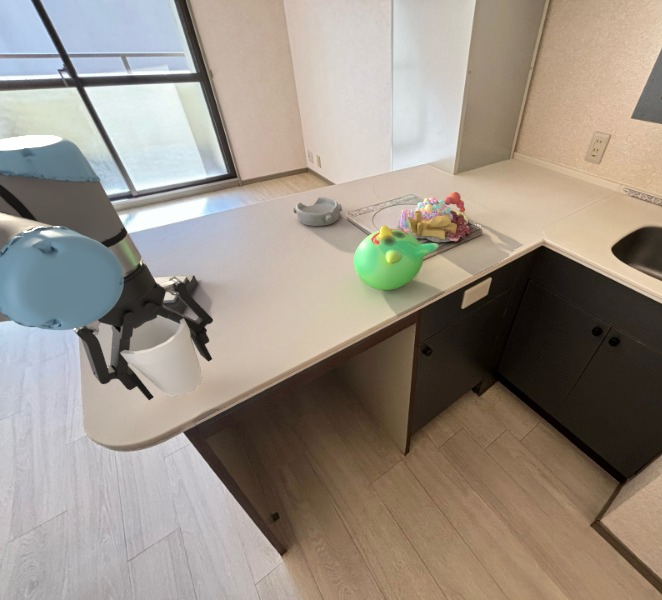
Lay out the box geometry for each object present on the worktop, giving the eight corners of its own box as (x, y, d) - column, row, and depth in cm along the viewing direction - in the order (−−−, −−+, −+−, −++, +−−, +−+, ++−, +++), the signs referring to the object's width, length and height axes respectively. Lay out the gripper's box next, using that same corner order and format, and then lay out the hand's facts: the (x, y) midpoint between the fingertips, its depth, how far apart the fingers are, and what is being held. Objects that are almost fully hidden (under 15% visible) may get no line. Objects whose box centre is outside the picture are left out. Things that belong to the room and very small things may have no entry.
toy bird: (393, 256, 95) (394, 209, 85) (436, 282, 86) (443, 233, 76) (343, 281, 85) (338, 231, 76) (386, 313, 76) (387, 262, 67)
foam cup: (223, 376, 59) (197, 325, 51) (172, 414, 53) (133, 364, 45) (192, 353, 63) (163, 303, 55) (141, 387, 57) (100, 336, 48)
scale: (113, 319, 72) (105, 309, 70) (137, 286, 81) (131, 276, 79) (181, 314, 74) (175, 303, 72) (197, 282, 83) (193, 272, 81)
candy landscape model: (475, 246, 101) (480, 218, 94) (399, 244, 100) (400, 216, 94) (463, 210, 119) (467, 185, 113) (399, 208, 119) (400, 183, 113)
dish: (290, 221, 109) (287, 207, 106) (317, 206, 118) (315, 192, 115) (323, 232, 104) (321, 218, 101) (349, 216, 113) (348, 202, 110)
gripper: (180, 228, 51) (224, 329, 65) (-17, 299, 37) (95, 408, 51) (206, 244, 48) (247, 346, 62) (2, 328, 34) (116, 435, 48)
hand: (178, 374), depth 57 cm, fingers closed on foam cup, 9 cm apart
